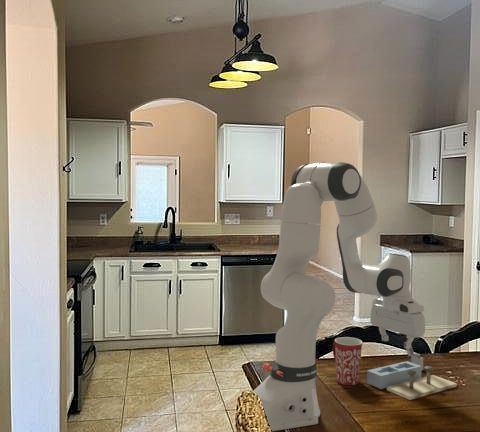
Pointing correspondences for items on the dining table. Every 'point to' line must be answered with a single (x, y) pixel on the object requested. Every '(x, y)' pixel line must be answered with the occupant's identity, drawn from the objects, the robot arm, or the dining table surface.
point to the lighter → (415, 357)
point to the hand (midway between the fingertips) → (396, 344)
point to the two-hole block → (392, 374)
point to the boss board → (421, 385)
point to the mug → (347, 360)
